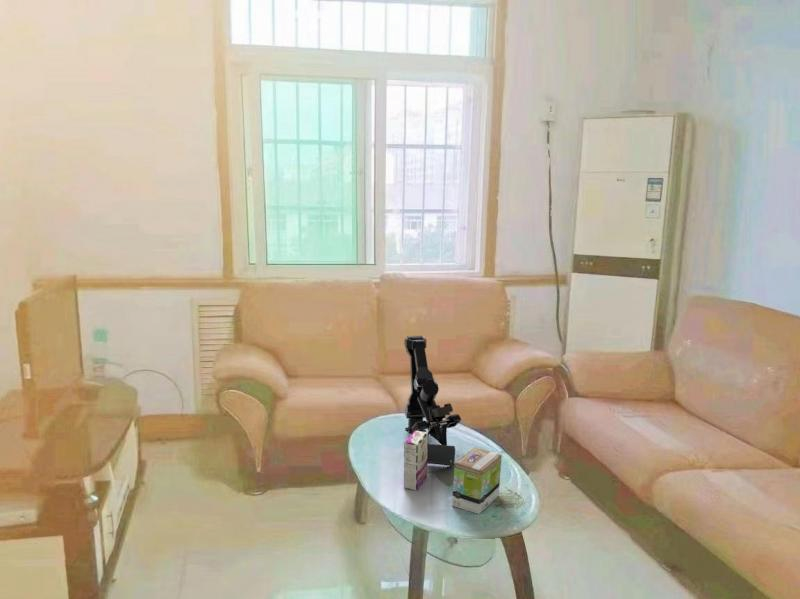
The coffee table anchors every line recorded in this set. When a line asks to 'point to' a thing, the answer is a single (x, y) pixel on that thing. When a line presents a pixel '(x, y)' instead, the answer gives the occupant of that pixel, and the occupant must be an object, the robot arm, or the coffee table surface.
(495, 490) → the tea box
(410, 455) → the candy bar box
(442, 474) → the slate mat
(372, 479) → the coffee table surface
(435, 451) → the small box
